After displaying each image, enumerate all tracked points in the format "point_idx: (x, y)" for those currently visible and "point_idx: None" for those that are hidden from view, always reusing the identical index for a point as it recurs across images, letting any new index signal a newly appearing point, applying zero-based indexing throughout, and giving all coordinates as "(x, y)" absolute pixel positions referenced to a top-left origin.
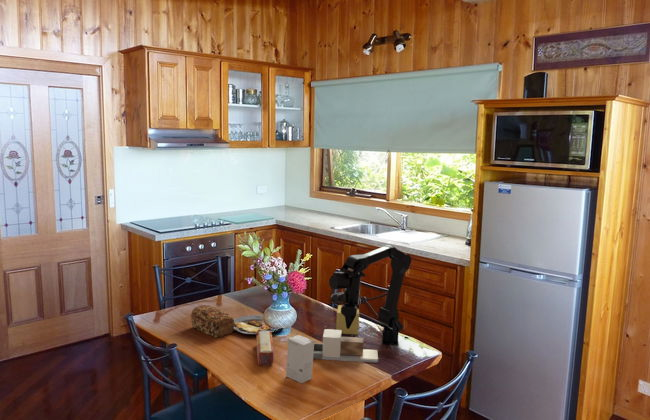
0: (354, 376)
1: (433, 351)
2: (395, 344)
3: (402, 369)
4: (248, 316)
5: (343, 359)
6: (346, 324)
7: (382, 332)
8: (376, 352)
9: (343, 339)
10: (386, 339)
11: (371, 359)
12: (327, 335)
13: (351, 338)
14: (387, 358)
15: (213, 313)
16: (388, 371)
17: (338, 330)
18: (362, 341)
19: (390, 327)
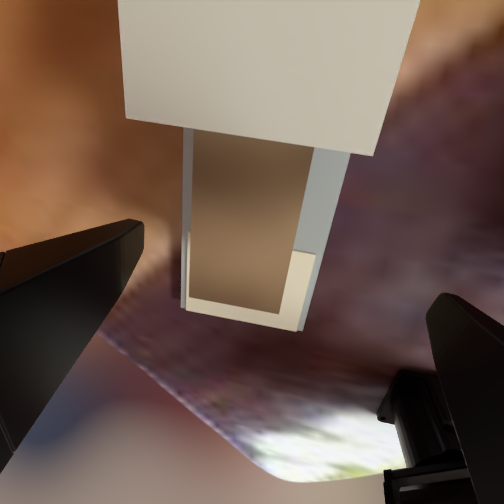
0: (13, 169)
1: (299, 480)
2: (379, 408)
3: (137, 364)
4: None
5: (185, 130)
6: (76, 240)
7: (448, 419)
8: (265, 321)
9: (241, 154)
10: (413, 399)
11: (186, 282)
12: None
13: (266, 229)
14: (234, 344)
15: None
16: (108, 318)
17: (362, 112)
18: (209, 296)
19: (402, 489)
